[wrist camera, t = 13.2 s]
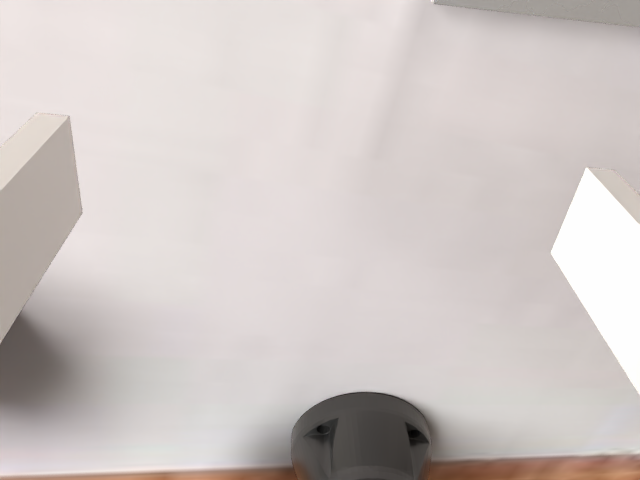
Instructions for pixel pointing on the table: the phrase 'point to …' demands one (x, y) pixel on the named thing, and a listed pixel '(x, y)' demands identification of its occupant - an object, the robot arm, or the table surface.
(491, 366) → the table surface
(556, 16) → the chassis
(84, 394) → the table surface
